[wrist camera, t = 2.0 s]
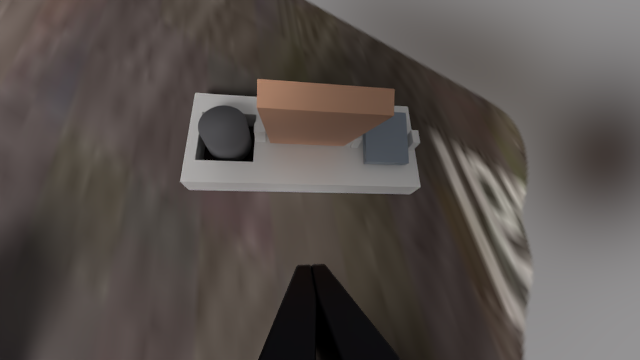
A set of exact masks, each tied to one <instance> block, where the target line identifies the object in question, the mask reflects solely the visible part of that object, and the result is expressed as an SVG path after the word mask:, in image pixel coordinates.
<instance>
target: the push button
mask: <svg viewBox="0 0 640 360" xmlns="http://www.w3.org/2000/svg"><path fill="white" fill-rule="evenodd" d="M198 131H199V134H200V136H201V138H202V140H203V141H204V143H205V145H206V147H207V148H208V150H209V152H210V154H211V155H212V156H213V157H214V158H215V159H216V160H218V161H241V160H242V159H244V158H245V157H246V156H247V155H248V154H249V152H250V150H251V147H252V141H251V136H250V132H249V127H248V123H247V119H246V117H245V115H244V114H243V113H242V112H241V111H240V110H238V109H237V108H234V107H232V106H226V105H222V106H216V107H213V108H211V109H209V110H207V111H206V112H205V113H204V114H203V115H202V116H201V118H200V120H199V122H198Z"/></svg>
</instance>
